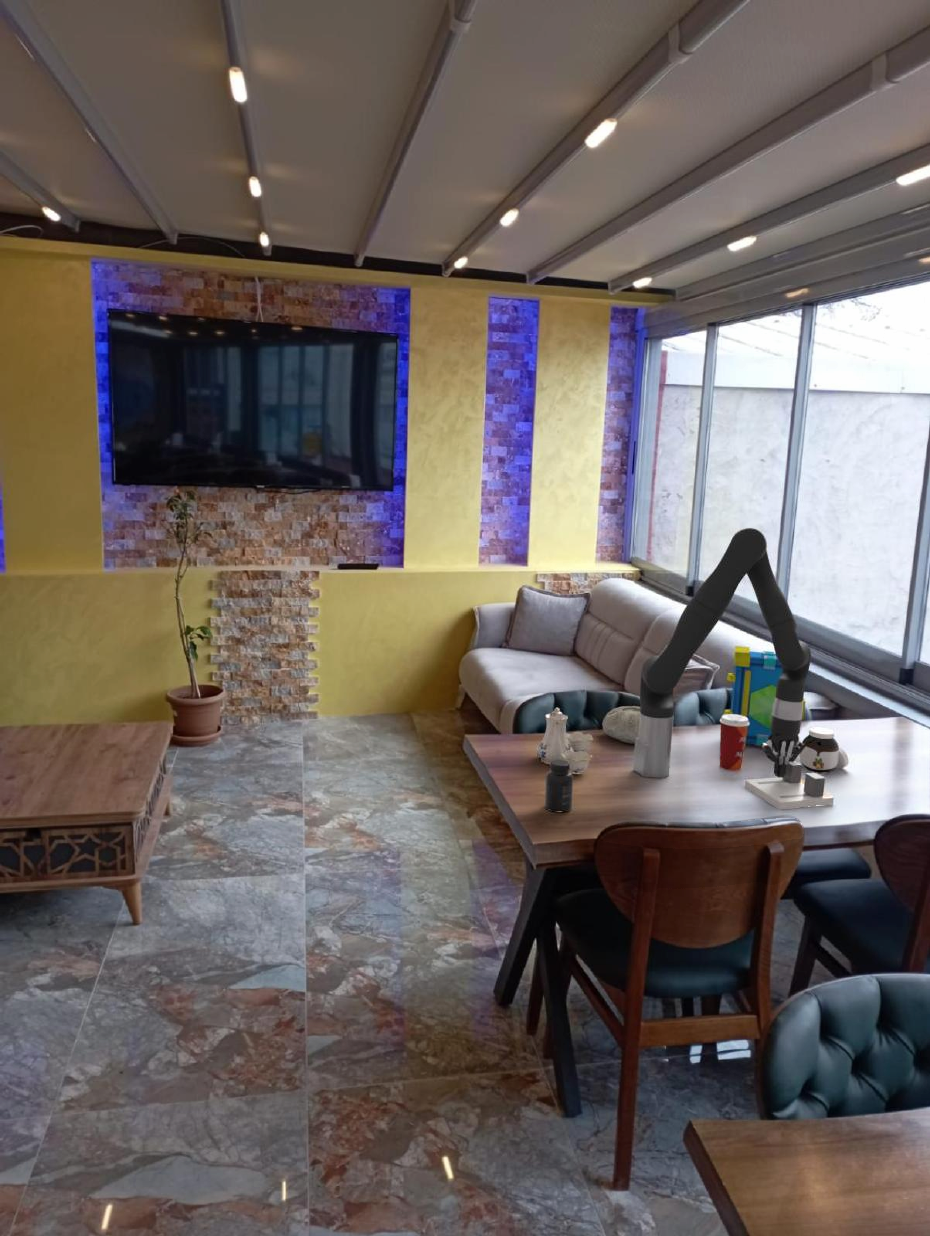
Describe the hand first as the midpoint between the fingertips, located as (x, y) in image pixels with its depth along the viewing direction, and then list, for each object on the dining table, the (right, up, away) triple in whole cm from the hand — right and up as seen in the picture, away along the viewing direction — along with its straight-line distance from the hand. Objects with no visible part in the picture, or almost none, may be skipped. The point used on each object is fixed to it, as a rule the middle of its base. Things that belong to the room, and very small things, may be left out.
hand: (779, 776), depth 241 cm
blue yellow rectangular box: (+8, +3, +39) cm, 40 cm away
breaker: (+6, -3, -8) cm, 11 cm away
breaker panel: (+1, -4, -4) cm, 6 cm away
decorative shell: (-33, +4, +40) cm, 52 cm away
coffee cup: (-8, 0, +17) cm, 19 cm away
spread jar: (+19, -1, +19) cm, 27 cm away
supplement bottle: (-62, -5, -17) cm, 64 cm away
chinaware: (-56, +1, +17) cm, 59 cm away
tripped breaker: (+4, -1, +2) cm, 4 cm away
